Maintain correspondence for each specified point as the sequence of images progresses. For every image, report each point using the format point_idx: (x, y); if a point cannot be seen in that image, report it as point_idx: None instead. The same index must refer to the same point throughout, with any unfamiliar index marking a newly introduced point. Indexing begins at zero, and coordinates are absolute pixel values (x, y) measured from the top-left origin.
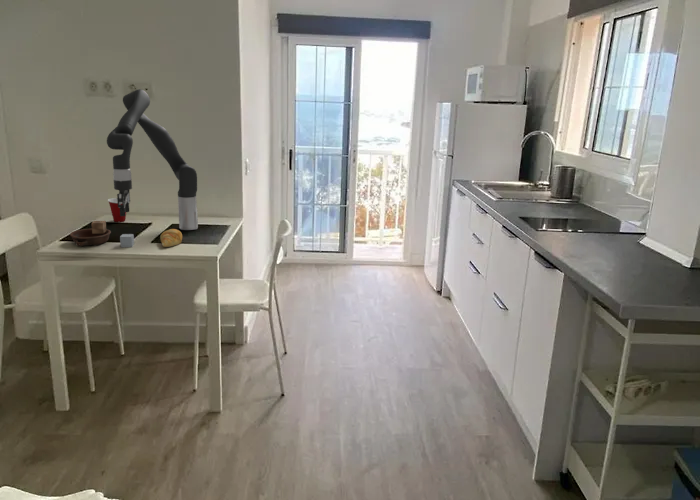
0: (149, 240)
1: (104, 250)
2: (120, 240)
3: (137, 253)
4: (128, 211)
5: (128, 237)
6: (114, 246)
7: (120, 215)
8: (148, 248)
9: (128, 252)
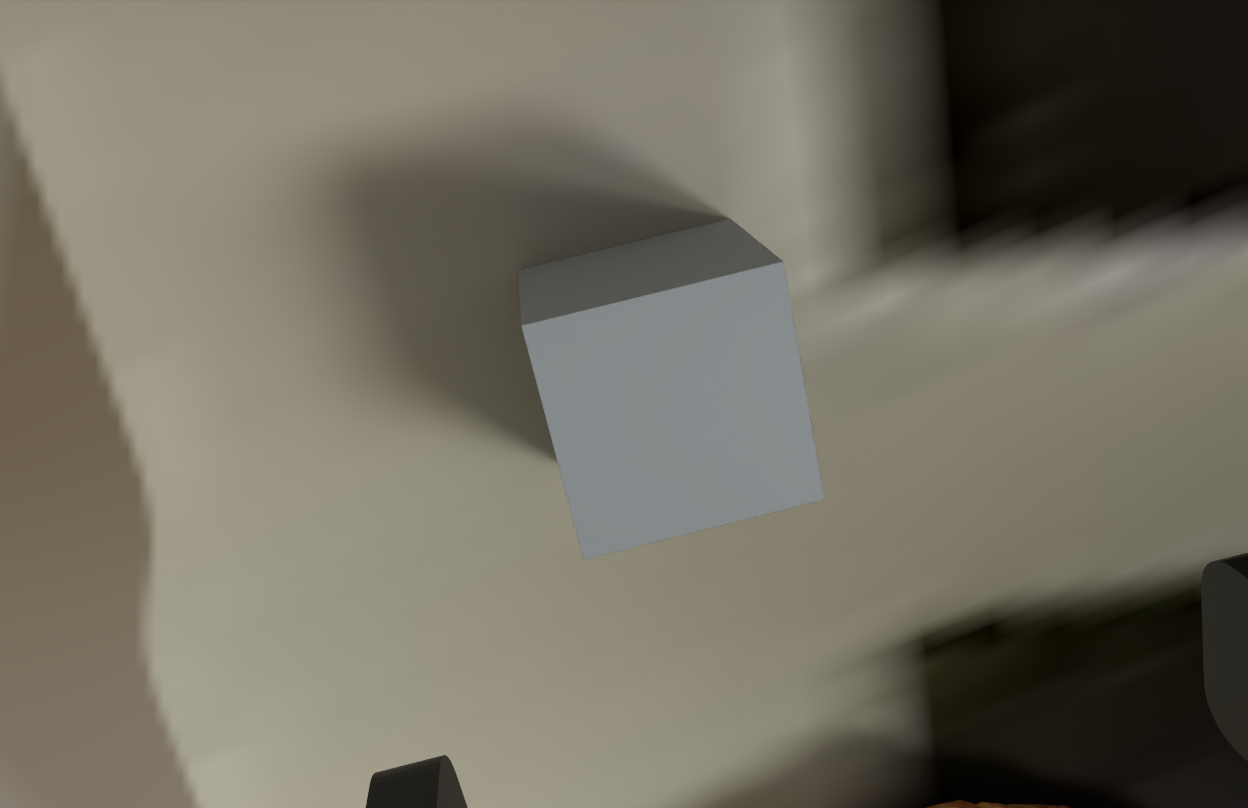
0: (1056, 549)
1: (203, 62)
2: (521, 310)
3: (197, 718)
4: (1228, 717)
5: (569, 495)
6: (549, 121)
7: (376, 787)
8: (541, 743)
9: (210, 561)
